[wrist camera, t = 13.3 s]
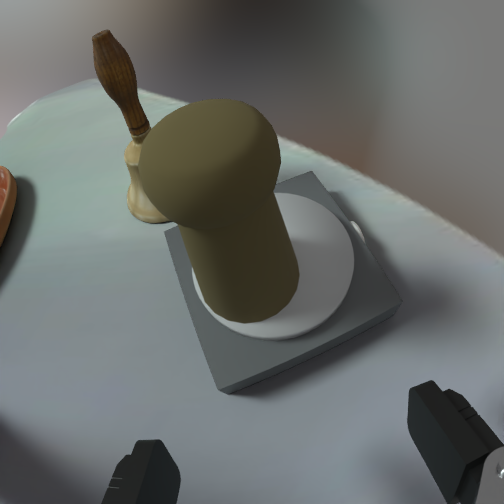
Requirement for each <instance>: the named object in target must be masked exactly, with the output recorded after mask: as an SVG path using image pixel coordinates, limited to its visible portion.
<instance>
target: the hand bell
mask: <svg viewBox="0 0 504 504" xmlns="http://www.w3.org/2000/svg"><path fill="white" fill-rule="evenodd" d="M92 41H93V53H94V66H95V70H96V73H97V76H98V79H99V81H100V83H101V84H102V86H103V88H104V90H105V91H106V93H107V94H108V95H109V96H110V97H111V98H112V99H113V100H114V101H115V102H116V104H117V105H118V106H119V108H120V109H121V111H122V114H123V116H124V118H125V121H126V123H127V126H128V127H129V131H130V133H131V136H132V139H133V140H132V141H131V142H130V143H129V145H128V146H127V148H126V150H125V154H124V159H125V162H126V164H127V167H128V170H129V173H130V177H131V184H130V186H129V189H128V194H127V204H128V208H129V210H130V212H131V213H132V215H134V216H135V217H136V218H137V219H139V220H141V221H144V222H148V223H161V222H166V221H170V220H169V219H167V218H166V217H165V216H164V215H162V214H161V213H160V212H159V211H158V210H157V208H156V207H155V206H154V205H153V204H152V203H151V202H150V200H149V199H148V197H147V195H146V194H145V192H144V190H143V186H142V182H141V178H140V173H139V168H138V162H139V157H140V152H141V148H142V144H143V141H144V139H145V138H146V136H147V135H148V133H149V132H150V130H151V127H150V124H149V121H148V119H147V117H146V115H145V113H144V111H143V109H142V106H141V104H140V102H139V99H138V93H137V81H136V74H135V71H134V67H133V64H132V62H131V60H130V57H129V55H128V53H127V52H126V50H125V49H124V48H123V47H122V45H121V44H120V43H119V42H118V41H117V40H116V39H115V38H114V37H113V35H112V34H111V32H110V31H109V30H104V31H101V32H99V33H97V34H96V35H94V36H93V37H92Z"/></svg>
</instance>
